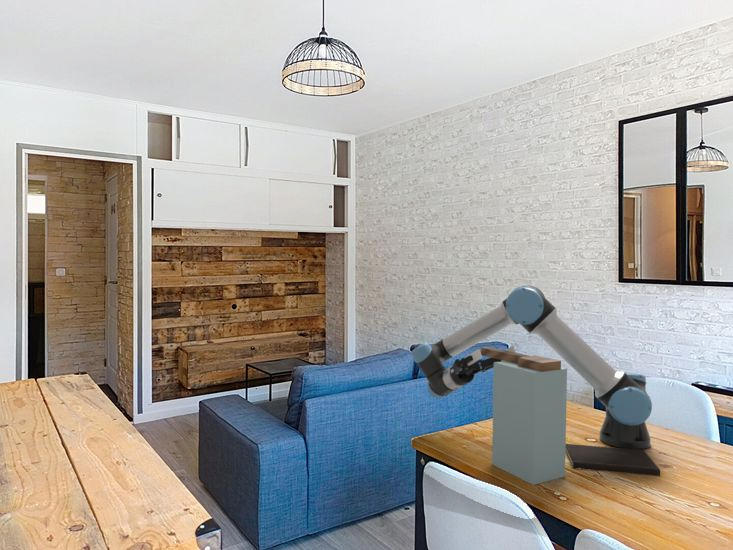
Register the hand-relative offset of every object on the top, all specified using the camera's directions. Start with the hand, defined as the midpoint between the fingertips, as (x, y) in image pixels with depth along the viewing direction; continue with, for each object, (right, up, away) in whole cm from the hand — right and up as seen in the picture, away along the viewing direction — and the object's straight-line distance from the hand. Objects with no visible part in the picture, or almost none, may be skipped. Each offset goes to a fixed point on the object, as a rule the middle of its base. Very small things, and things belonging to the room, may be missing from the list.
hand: (497, 351), depth 161 cm
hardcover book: (+33, -33, -3) cm, 47 cm away
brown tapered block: (+4, -2, -6) cm, 8 cm away
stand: (+6, -32, -10) cm, 34 cm away
